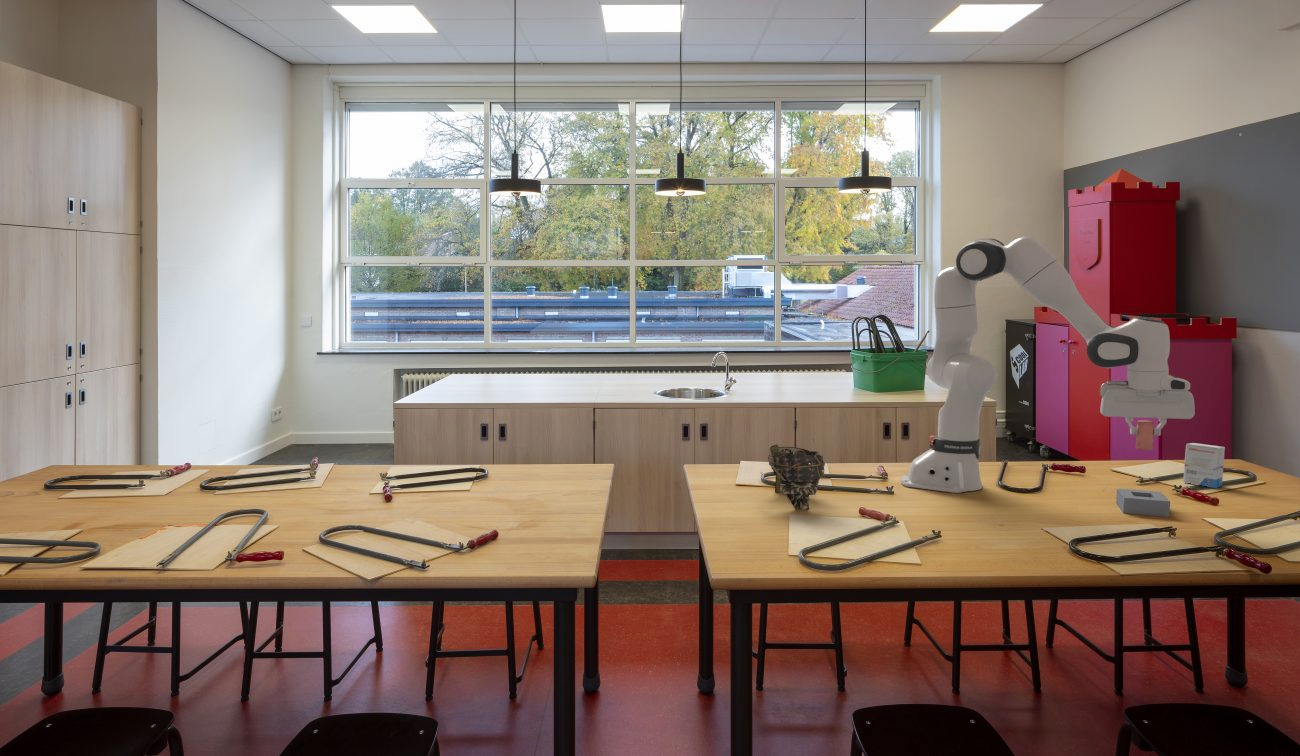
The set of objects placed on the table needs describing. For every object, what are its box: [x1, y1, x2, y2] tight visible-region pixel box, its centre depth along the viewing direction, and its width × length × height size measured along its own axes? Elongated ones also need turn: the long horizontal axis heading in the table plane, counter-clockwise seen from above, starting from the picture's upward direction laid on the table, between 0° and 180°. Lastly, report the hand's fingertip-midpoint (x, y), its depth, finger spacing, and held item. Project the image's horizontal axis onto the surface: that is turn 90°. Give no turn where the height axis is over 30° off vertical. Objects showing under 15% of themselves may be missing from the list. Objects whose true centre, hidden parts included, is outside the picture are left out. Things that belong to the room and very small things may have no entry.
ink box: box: [1182, 442, 1226, 489], centre depth 224 cm, size 8×5×12 cm, turn 35°
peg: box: [1135, 419, 1155, 451], centre depth 197 cm, size 4×4×7 cm
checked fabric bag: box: [767, 444, 826, 511], centre depth 211 cm, size 22×15×15 cm
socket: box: [1115, 488, 1171, 518], centre depth 199 cm, size 10×10×4 cm
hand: (1145, 434), depth 197 cm, fingers closed on peg, 4 cm apart
